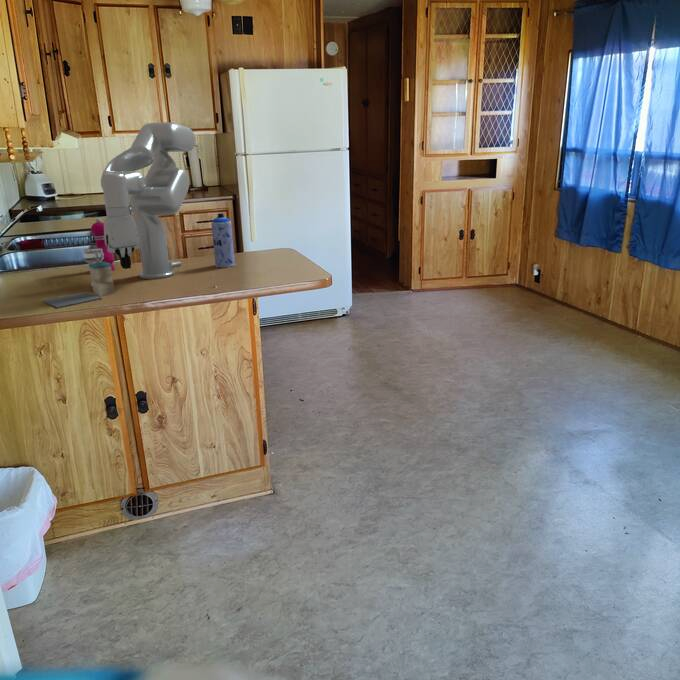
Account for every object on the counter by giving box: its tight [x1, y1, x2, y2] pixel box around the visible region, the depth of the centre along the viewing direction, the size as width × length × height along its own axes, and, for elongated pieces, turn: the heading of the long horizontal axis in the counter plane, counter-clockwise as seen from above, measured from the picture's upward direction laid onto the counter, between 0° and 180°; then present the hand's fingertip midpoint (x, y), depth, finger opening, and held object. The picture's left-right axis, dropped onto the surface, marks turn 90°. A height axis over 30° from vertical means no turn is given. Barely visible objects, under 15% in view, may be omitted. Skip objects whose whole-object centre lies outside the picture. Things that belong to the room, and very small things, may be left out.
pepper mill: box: [90, 217, 115, 272], centre depth 232 cm, size 7×7×20 cm
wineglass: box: [82, 247, 104, 286], centre depth 211 cm, size 7×7×12 cm
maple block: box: [88, 262, 116, 298], centre depth 198 cm, size 5×5×10 cm
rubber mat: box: [42, 291, 103, 309], centre depth 192 cm, size 14×12×1 cm
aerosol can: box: [211, 213, 236, 268], centre depth 233 cm, size 8×8×20 cm
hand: (126, 268), depth 202 cm, fingers closed
